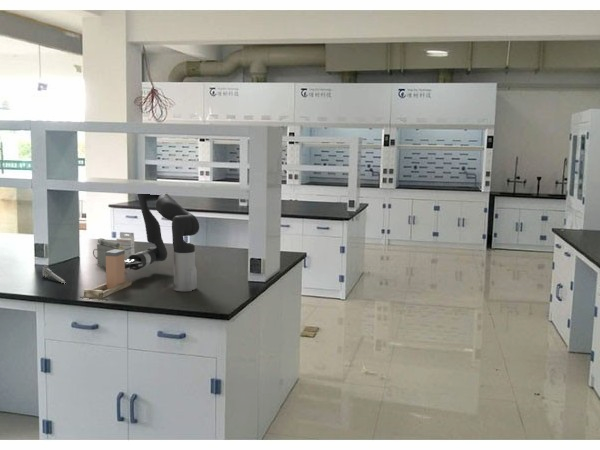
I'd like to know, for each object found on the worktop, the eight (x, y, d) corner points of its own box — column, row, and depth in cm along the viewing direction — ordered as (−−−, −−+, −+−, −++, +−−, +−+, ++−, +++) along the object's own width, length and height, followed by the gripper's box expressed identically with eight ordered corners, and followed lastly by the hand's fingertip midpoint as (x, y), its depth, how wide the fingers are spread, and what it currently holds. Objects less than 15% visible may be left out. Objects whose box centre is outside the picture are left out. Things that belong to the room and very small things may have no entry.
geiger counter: (124, 242, 303) (98, 236, 320) (113, 243, 298) (87, 237, 315) (125, 269, 305) (99, 261, 321) (113, 271, 300) (88, 263, 317)
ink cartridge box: (116, 260, 327) (115, 233, 325) (119, 258, 332) (119, 231, 330) (131, 260, 326) (131, 233, 324) (135, 258, 331) (134, 232, 329)
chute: (135, 287, 270) (135, 278, 269) (105, 301, 247) (105, 291, 246) (111, 285, 272) (111, 276, 272) (79, 298, 249) (79, 289, 249)
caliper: (42, 277, 286) (42, 264, 285) (44, 276, 287) (44, 264, 286) (64, 284, 273) (63, 271, 272) (66, 284, 274) (66, 270, 273)
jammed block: (125, 285, 268) (124, 250, 265) (116, 289, 261) (115, 252, 258) (115, 284, 269) (114, 249, 267) (106, 288, 262) (105, 252, 260)
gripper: (126, 251, 285) (106, 258, 268) (152, 253, 282) (132, 260, 265) (127, 267, 286) (106, 275, 269) (152, 269, 283) (133, 277, 266)
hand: (119, 267), depth 267 cm, fingers closed
